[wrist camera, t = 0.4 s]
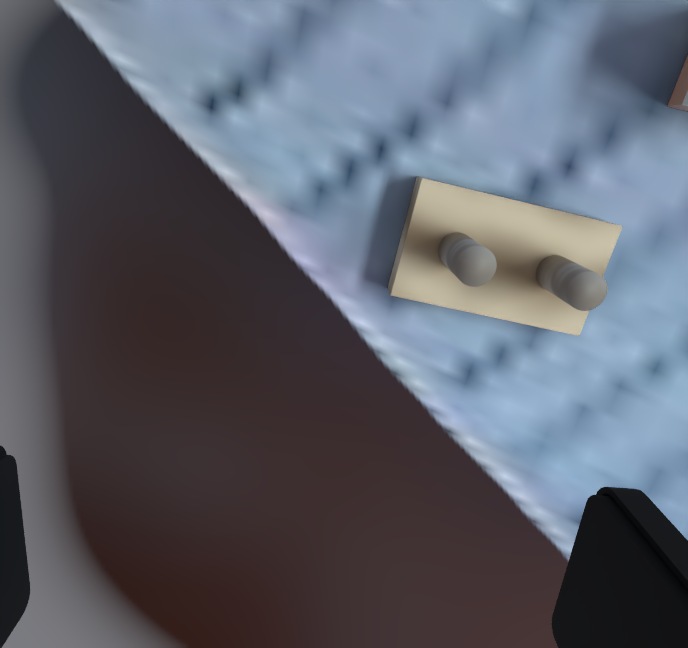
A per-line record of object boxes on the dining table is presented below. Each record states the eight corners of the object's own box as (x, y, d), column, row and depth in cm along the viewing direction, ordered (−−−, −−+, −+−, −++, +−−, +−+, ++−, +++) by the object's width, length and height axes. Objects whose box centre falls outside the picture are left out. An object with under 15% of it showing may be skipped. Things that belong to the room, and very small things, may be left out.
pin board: (417, 176, 36) (437, 183, 29) (607, 222, 37) (668, 239, 31) (387, 287, 38) (400, 318, 32) (567, 326, 40) (615, 363, 33)
